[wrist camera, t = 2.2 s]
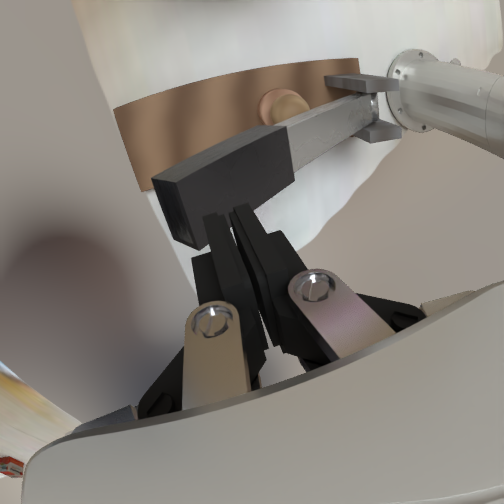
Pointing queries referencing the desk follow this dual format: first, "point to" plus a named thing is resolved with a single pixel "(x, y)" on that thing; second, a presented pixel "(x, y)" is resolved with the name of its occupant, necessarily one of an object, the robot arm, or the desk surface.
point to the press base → (238, 110)
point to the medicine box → (11, 467)
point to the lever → (254, 165)
